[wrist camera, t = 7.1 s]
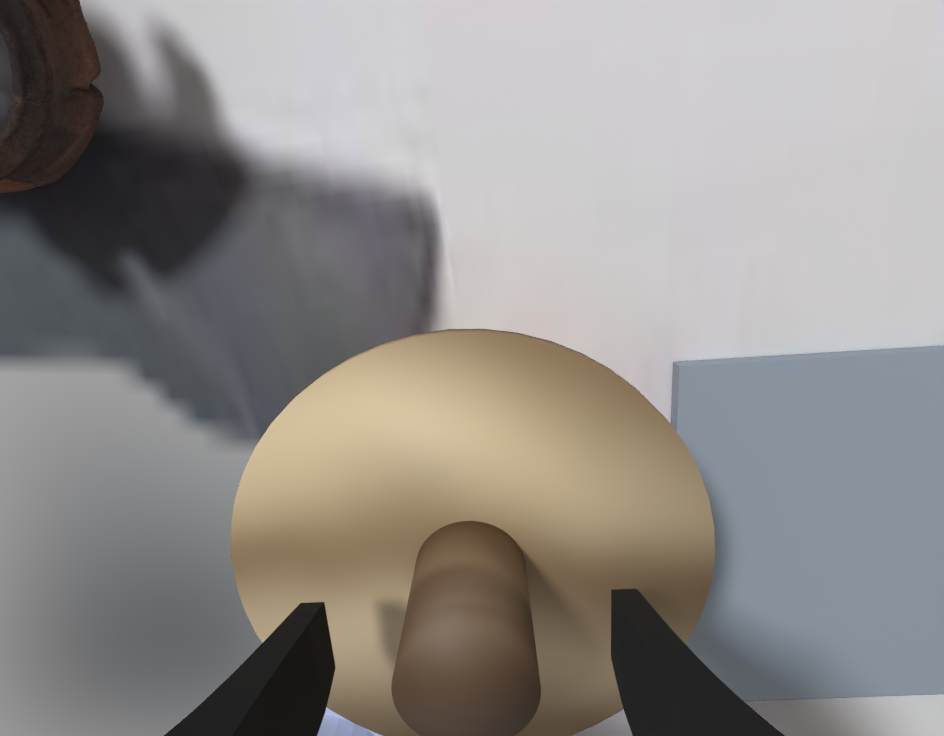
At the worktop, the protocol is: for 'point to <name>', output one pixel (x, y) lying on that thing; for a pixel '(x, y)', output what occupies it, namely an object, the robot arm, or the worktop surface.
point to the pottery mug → (47, 92)
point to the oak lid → (471, 531)
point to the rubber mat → (821, 520)
